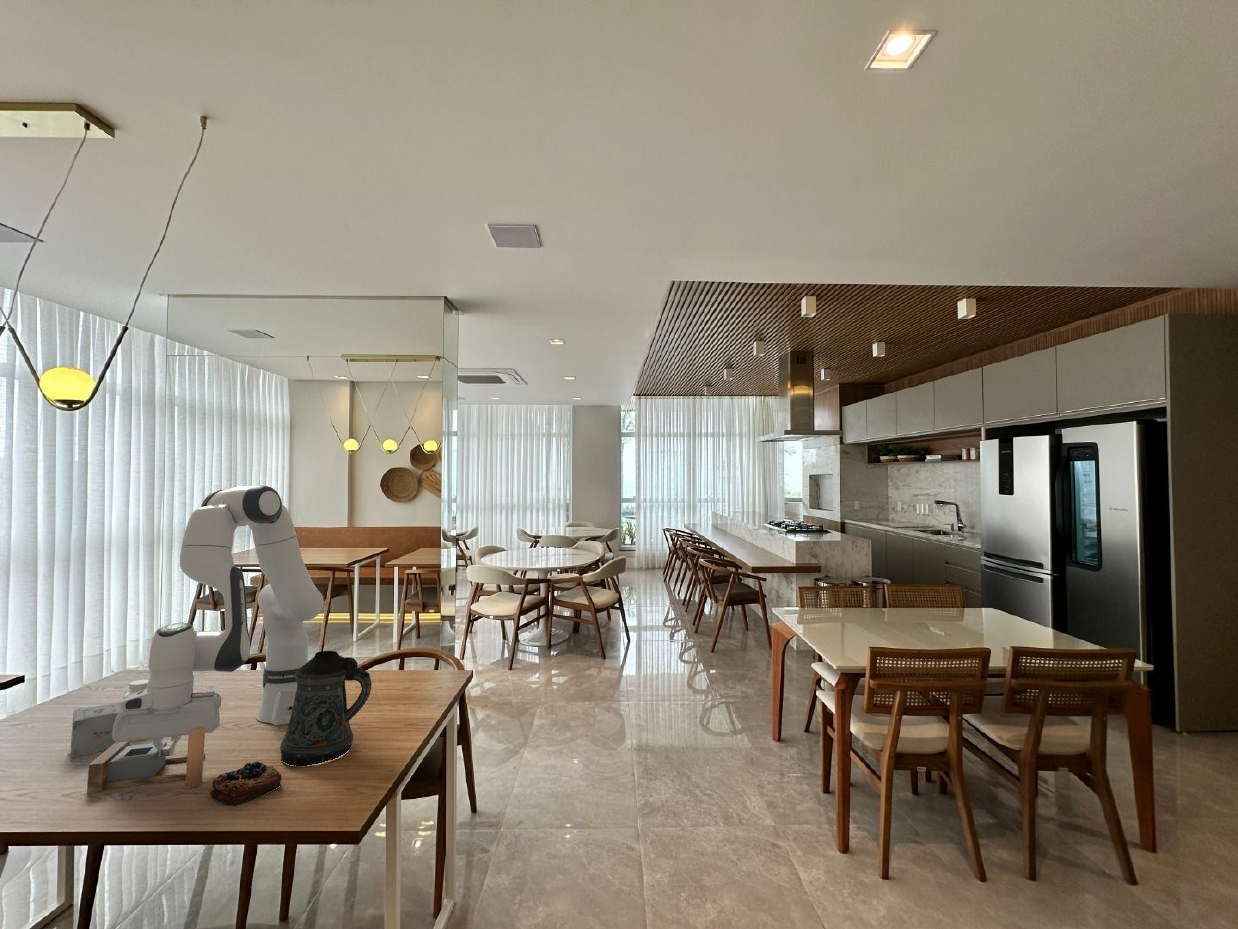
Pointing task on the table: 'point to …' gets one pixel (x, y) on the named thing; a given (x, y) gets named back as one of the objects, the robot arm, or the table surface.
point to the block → (135, 763)
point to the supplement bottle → (136, 687)
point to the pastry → (245, 783)
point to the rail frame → (99, 780)
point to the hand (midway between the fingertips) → (166, 755)
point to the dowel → (195, 757)
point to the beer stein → (323, 710)
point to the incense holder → (93, 729)
